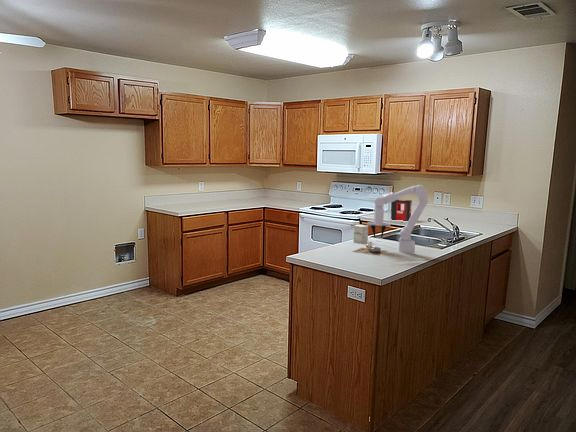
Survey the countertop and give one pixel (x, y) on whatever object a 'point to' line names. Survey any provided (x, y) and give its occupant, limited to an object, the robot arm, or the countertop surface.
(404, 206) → the cleaning product box
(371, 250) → the capstan dial
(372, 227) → the robot arm
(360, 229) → the supplement box
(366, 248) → the stand base
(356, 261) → the countertop surface
